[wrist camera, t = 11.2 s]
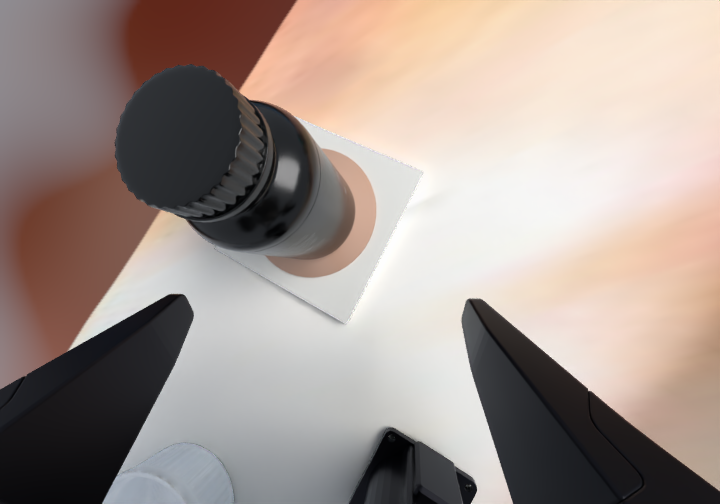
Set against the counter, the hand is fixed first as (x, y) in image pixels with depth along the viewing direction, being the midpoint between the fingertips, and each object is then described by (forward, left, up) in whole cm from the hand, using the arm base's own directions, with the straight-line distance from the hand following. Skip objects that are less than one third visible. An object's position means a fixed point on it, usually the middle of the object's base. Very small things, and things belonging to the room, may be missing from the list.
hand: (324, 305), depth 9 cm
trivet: (+3, +6, -12) cm, 13 cm away
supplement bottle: (+3, +6, -11) cm, 13 cm away
